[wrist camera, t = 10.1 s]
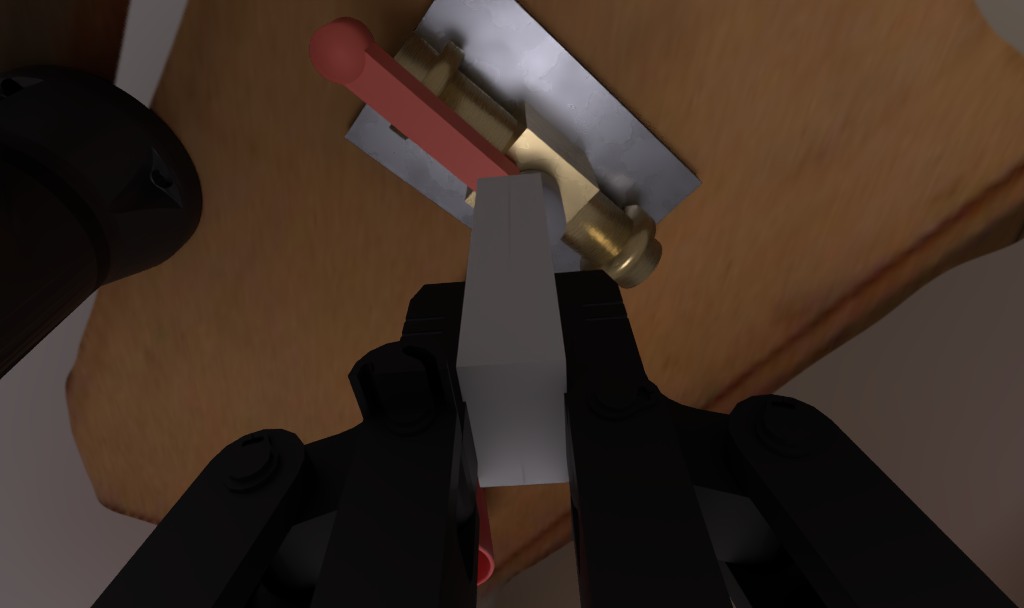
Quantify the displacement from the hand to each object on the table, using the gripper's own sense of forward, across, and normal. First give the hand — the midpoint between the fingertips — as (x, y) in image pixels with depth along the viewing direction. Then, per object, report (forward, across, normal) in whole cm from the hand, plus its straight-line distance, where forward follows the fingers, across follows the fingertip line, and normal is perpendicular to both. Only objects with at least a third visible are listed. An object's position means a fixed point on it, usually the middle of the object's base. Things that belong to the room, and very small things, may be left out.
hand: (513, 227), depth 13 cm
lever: (+19, -4, -3) cm, 19 cm away
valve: (+26, +1, -8) cm, 28 cm away
